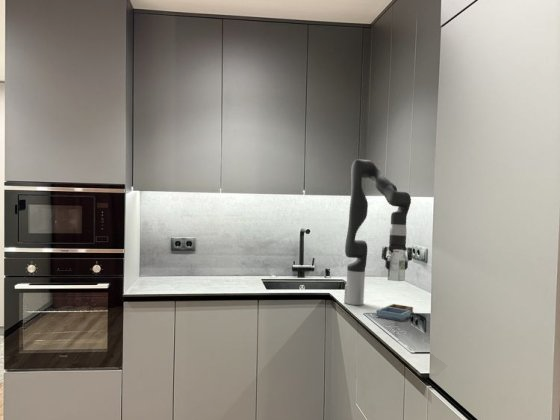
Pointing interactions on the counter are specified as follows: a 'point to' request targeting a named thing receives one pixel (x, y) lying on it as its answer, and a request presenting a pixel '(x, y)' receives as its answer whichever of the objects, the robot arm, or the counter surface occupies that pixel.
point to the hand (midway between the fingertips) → (396, 269)
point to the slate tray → (394, 313)
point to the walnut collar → (401, 307)
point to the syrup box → (397, 266)
